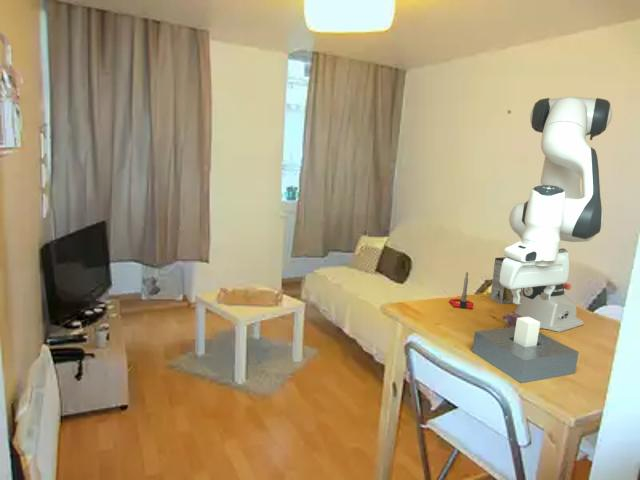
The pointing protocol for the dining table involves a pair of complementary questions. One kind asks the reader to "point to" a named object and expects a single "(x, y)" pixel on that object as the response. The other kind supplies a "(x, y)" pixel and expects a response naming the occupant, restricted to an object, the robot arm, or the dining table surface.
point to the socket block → (524, 355)
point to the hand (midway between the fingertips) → (531, 301)
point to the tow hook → (463, 298)
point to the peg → (526, 331)
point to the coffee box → (498, 290)
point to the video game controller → (511, 319)
